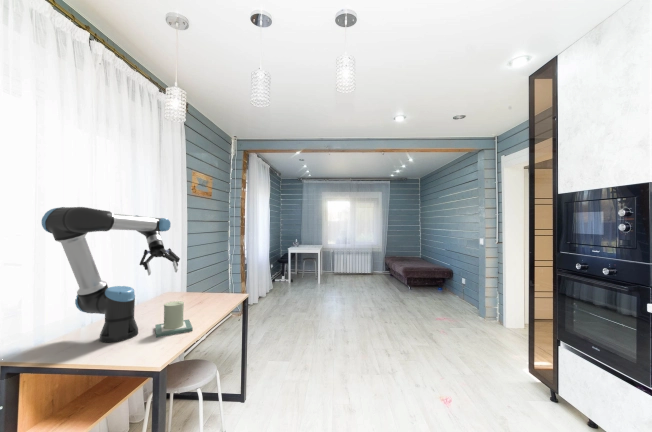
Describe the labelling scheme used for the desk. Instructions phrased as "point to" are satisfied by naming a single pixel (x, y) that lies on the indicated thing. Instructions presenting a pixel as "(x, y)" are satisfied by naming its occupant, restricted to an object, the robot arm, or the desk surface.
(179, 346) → the desk surface
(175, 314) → the can
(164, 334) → the board
